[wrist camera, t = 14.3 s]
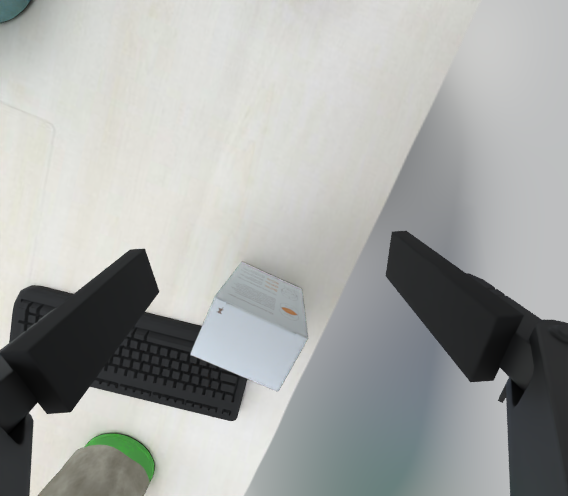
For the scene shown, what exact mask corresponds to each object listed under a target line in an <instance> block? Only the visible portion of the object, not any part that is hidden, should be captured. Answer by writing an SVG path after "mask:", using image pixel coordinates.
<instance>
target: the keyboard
mask: <svg viewBox="0 0 568 496" xmlns="http://www.w3.org/2000/svg"><path fill="white" fill-rule="evenodd" d="M72 295H73V294H70V293H66V292H62V291H58V290H54V289H50V288H46V287H43V286H30V287H27V288H25V289H23V290H21V291H20V293H19V295H18V297H17V299H16V301H15V303H14V308H13V314H12V323H11V332H10V341H9V343H10V342H11V341H13V340H14V339H15V338H17V337H18V336H19V335H20V334H22V333H23V332H24V331H27V329H28V328H29V327H31V326H32V325H33V324H34V323H38V320H40V319H41V318H42V317H43V316H45V315H46V314H47V313H49V312H50V311H52V310H53V309H55V308H57V307H58V306H59V305H61V304H62V303H63V302H64V301H66V300H67V299H68V298H70V297H71V296H72ZM201 328H202V326H198V325H194V324H190V323H186V322H182V321H178V320H174V319H170V318H166V317H162V316H158V315H154V314H150V313H146V312H144V313H143V315H142V316H141V317H140V319H139V320H138V322H137V323H136V324H135V326H134V327H133V328H132V330H131V331H130V332H129V334H128V335H127V336H126V338H125V339H124V341H123V342H122V343H121V345H120V346H119V347H118V349H117V350H116V351H115V353H114V354H113V355H112V357H111V358H110V360H109V361H108V362H107V364H106V365H105V366H104V368H103V369H102V370H101V372H100V373H99V374H98V376H97V377H96V379H95V380H94V381H93V383H92V384H91V385H90V387H94V388H98V389H102V390H106V391H110V392H114V393H118V394H122V395H126V396H130V397H134V398H138V399H143V400H147V401H151V402H155V403H159V404H163V405H167V406H171V407H175V408H179V409H183V410H187V411H191V412H195V413H200V414H204V415H208V416H212V417H216V418H220V419H224V420H228V421H234V420H236V419H237V416H238V412H239V409H240V405H241V401H242V397H243V393H244V389H245V385H246V381H247V378H244V377H242V376H239V375H237V374H235V373H233V372H230V371H228V370H225V369H223V368H221V367H218V366H216V365H213V364H211V363H209V362H206V361H204V360H202V359H199V358H197V357H194V356H192V355H191V351H192V348H193V346H194V344H195V341H196V339H197V337H198V335H199V332H200V330H201Z"/></svg>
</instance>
